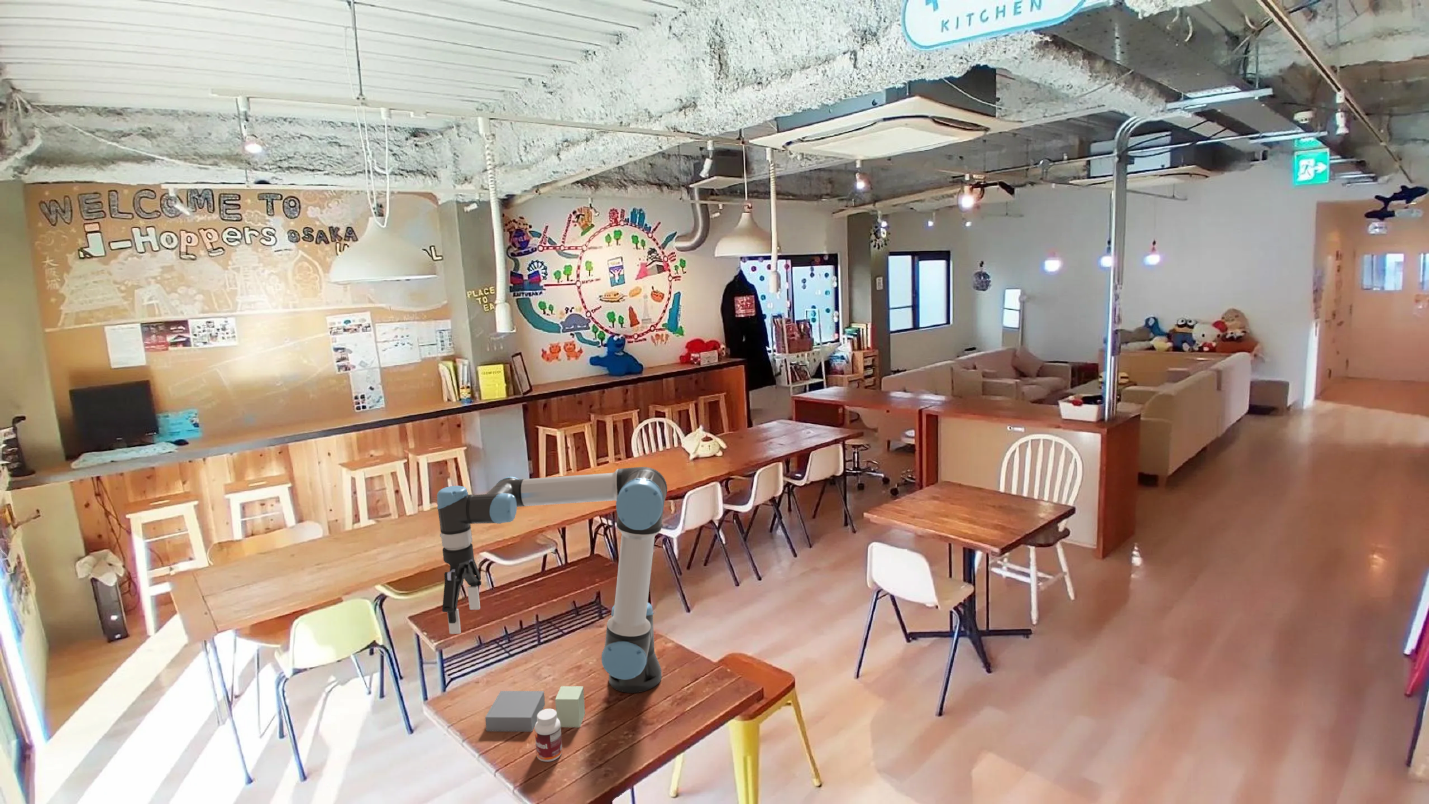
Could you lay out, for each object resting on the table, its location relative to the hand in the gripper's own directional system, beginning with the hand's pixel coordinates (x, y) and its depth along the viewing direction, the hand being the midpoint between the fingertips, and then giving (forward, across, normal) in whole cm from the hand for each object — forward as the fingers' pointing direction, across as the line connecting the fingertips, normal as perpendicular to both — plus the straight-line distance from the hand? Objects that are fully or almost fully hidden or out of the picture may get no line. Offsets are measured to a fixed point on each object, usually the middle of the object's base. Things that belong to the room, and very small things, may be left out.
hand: (465, 620), depth 197 cm
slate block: (+26, +4, +13) cm, 29 cm away
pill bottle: (+26, +19, +26) cm, 42 cm away
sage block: (+26, +5, +28) cm, 39 cm away
